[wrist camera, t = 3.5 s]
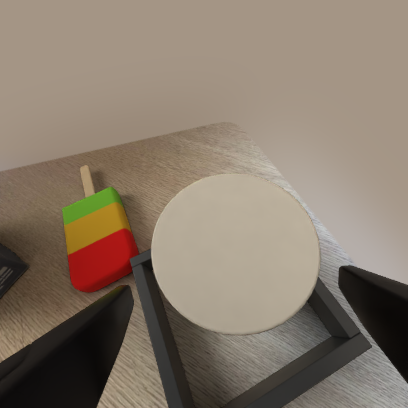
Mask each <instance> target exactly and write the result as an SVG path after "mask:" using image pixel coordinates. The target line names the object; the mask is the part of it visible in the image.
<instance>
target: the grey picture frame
mask: <svg viewBox="0 0 408 408" xmlns="http://www.w3.org/2000/svg"><path fill="white" fill-rule="evenodd" d="M130 262H131V266H132V270H133V274H134V278H135V282H136V286H137V289H138V293H139V297H140V301H141V305H142V308H143V312H144V316H145V320H146V324H147V327H148V331H149V335H150V339H151V343H152V347H153V350H154V354H155V358H156V362H157V366H158V369H159V373H160V377H161V381H162V385H163V388H164V392H165V396H166V400H167V404H168V407H169V408H196V406H195V403H194V400H193V397H192V394H191V391H190V388H189V384H188V381H187V378H186V375H185V372H184V369H183V366H182V362H181V359H180V356H179V353H178V350H177V347H176V344H175V341H174V337H173V334H172V331H171V328H170V325H169V322H168V319H167V315H166V312H165V309H164V306H163V303H162V300H161V297H160V293H159V290H158V287H157V284H156V281H155V278H154V275H153V271H152V270H153V266H152V257H151V249H149V250H147V251H145V252H143V253H141V254H139V255H137V256H135V257H133V258H131V259H130ZM307 301H308V303H309V304H310V306H311V307H312V309H313V310H314V311H315V313H316V314H317V316H318V317H319V319H320V320H321V321H322V323H323V324H324V326H325V327H326V329H327V330H328V331H329V333H330V334H331V336H332V337H330V338H329V339H327V340H326V341H324V342H322V343H321V344H319V345H318V346H316V347H315V348H313V349H311V350H310V351H308V352H307V353H305V354H304V355H302V356H301V357H299V358H297V359H296V360H294V361H293V362H291V363H290V364H288V365H286V366H285V367H283V368H282V369H280V370H279V371H277V372H275V373H274V374H272V375H271V376H269V377H268V378H266V379H264V380H263V381H261V382H260V383H258V384H257V385H255V386H253V387H252V388H250V389H249V390H247V391H246V392H244V393H243V394H241V395H239V396H238V397H236V398H235V399H233V400H232V401H230V402H228V403H227V404H225V405H224V406H222V407H221V408H282V407H283V406H285V405H286V404H288V403H289V402H291V401H292V400H294V399H295V398H297V397H298V396H300V395H301V394H303V393H304V392H306V391H307V390H309V389H310V388H312V387H313V386H315V385H316V384H318V383H319V382H321V381H322V380H324V379H325V378H327V377H328V376H330V375H331V374H333V373H334V372H336V371H337V370H339V369H340V368H342V367H343V366H345V365H346V364H348V363H349V362H351V361H352V360H354V359H355V358H357V357H358V356H360V355H361V354H362V353H364V352H365V351H367V350H368V349H370V348H371V347H372V345H371V344H370V343H369V341H368V340H367V339H366V338H365V336H364V335H363V334H362V333H361V332H360V330H359V328H358V327H357V326H356V325H355V323H354V322H353V321H352V319H351V318H350V317H349V316H348V314H347V313H346V312H345V310H344V309H343V308H342V307H341V305H340V304H339V303H338V301H337V300H336V299H335V298H334V296H333V295H332V294H331V293H330V291H329V290H328V289H327V287H326V286H325V285H324V284H323V282H322V281H321V280H320V278H319V277H318V279H317V282H316V285H315V287H314V289H313V292H312V294H311V296H310V297H309V299H308V300H307Z"/></svg>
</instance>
